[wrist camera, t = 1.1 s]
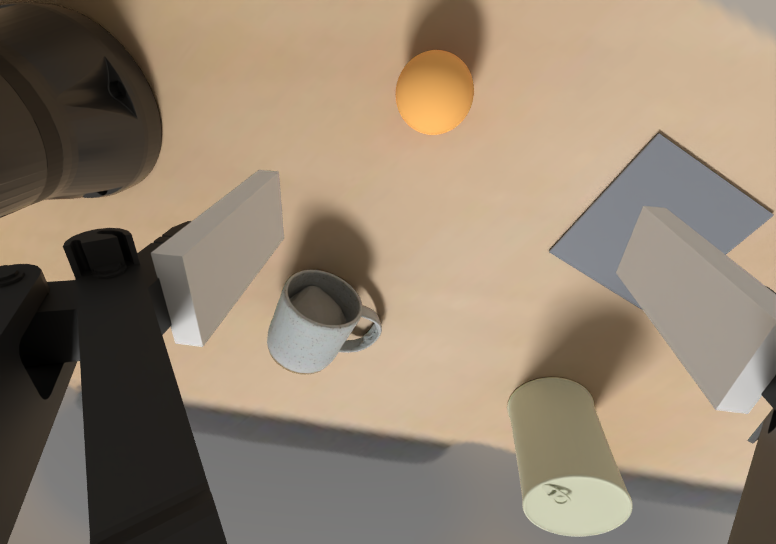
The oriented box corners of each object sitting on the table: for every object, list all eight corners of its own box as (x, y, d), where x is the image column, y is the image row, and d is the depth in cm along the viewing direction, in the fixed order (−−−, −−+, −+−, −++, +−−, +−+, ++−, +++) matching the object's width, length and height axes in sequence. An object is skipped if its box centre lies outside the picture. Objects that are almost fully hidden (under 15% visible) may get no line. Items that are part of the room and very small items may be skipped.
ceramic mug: (277, 316, 45) (249, 365, 38) (300, 258, 41) (272, 302, 34) (366, 353, 46) (353, 407, 39) (396, 300, 42) (387, 351, 35)
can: (554, 363, 43) (586, 466, 32) (611, 408, 45) (659, 518, 34) (490, 405, 47) (501, 508, 37) (545, 445, 49) (570, 553, 39)
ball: (387, 102, 32) (376, 114, 27) (424, 32, 29) (419, 32, 25) (445, 140, 33) (444, 157, 28) (487, 75, 30) (493, 82, 26)
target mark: (548, 251, 37) (549, 252, 36) (658, 132, 31) (659, 133, 31) (650, 314, 38) (651, 315, 38) (772, 214, 32) (773, 214, 32)
